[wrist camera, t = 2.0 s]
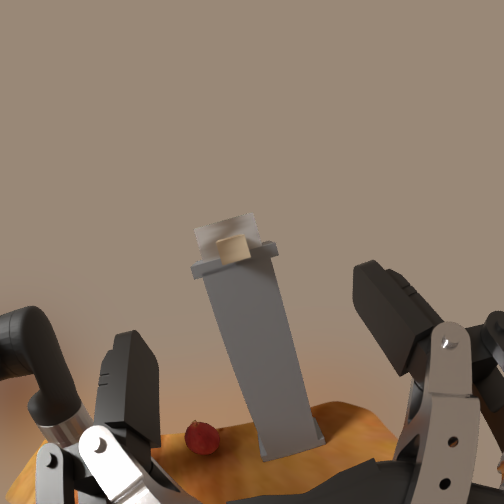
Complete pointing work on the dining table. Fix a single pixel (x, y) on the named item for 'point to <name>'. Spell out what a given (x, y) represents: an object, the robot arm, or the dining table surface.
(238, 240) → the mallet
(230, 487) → the dining table surface
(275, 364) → the stand
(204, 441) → the onion
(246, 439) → the dining table surface
